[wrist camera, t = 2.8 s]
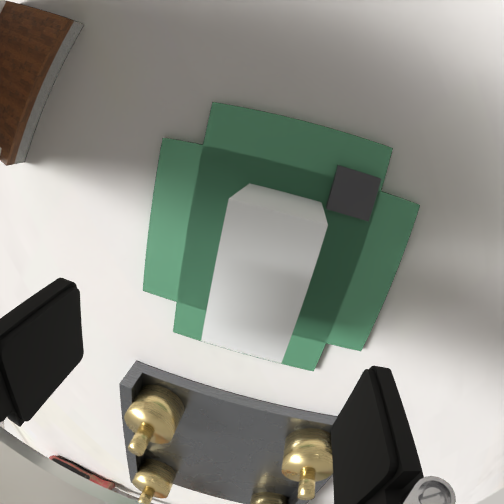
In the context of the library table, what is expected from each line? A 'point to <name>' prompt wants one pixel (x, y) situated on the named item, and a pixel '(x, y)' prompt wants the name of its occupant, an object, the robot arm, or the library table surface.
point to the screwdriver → (89, 475)
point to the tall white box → (28, 71)
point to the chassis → (220, 442)
